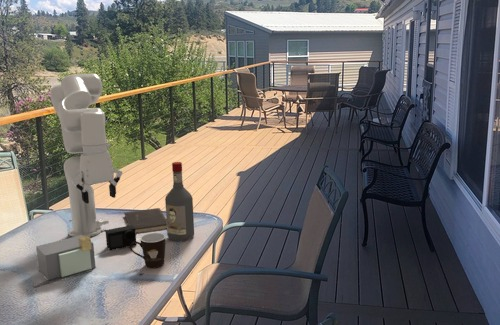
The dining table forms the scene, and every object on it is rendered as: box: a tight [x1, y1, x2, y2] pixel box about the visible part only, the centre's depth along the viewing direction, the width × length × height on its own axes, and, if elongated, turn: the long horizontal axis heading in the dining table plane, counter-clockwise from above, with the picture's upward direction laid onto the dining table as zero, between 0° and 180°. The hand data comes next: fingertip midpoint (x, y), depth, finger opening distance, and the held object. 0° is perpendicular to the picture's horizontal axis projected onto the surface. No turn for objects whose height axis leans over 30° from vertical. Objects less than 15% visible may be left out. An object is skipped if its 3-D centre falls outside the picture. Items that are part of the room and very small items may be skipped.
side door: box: [59, 236, 93, 277], centre depth 175 cm, size 10×3×12 cm, turn 128°
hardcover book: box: [123, 207, 167, 234], centre depth 226 cm, size 16×23×2 cm
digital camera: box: [104, 225, 137, 251], centre depth 199 cm, size 10×5×7 cm, turn 118°
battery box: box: [32, 235, 96, 288], centre depth 178 cm, size 21×12×9 cm, turn 128°
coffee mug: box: [129, 232, 167, 269], centre depth 183 cm, size 12×9×10 cm
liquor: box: [164, 161, 195, 243], centre depth 205 cm, size 9×9×30 cm
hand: (99, 199), depth 177 cm, fingers open, 8 cm apart
